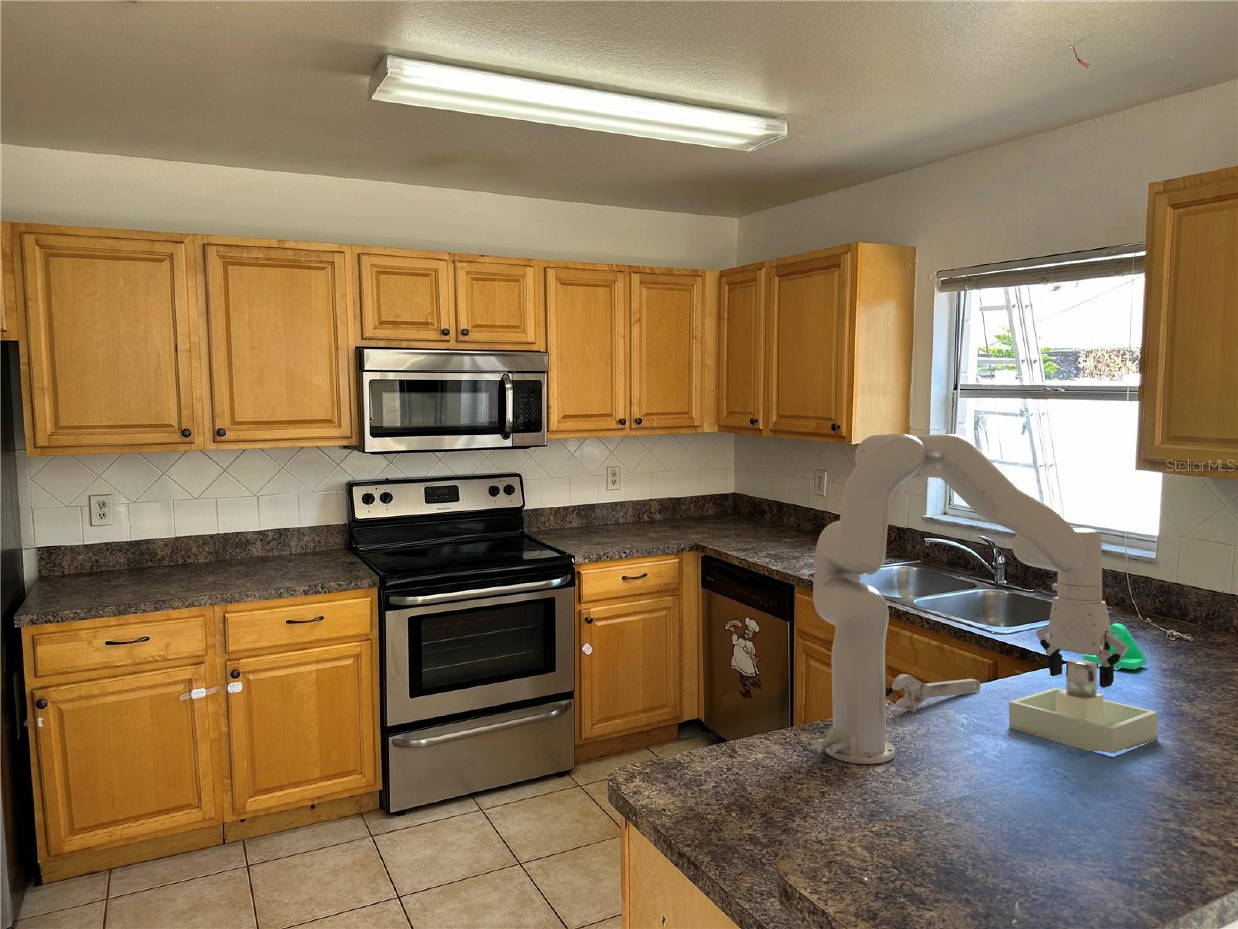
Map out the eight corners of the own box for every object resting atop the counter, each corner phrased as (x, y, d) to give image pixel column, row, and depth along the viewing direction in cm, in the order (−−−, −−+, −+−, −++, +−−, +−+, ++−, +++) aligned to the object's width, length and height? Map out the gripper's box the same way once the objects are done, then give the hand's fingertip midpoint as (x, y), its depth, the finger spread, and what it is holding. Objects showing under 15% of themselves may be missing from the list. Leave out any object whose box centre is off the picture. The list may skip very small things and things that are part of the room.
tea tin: (1087, 699, 160) (1087, 667, 160) (1060, 692, 165) (1060, 661, 165) (1102, 695, 163) (1102, 664, 163) (1075, 688, 167) (1075, 658, 167)
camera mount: (1081, 665, 214) (1081, 624, 214) (1093, 659, 219) (1093, 620, 219) (1134, 674, 205) (1133, 631, 205) (1145, 668, 210) (1145, 627, 209)
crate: (1112, 758, 151) (1112, 728, 151) (1009, 728, 168) (1008, 701, 168) (1157, 739, 160) (1157, 712, 160) (1055, 713, 177) (1054, 687, 177)
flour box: (1086, 737, 160) (1086, 700, 160) (1055, 728, 165) (1055, 692, 165) (1103, 730, 163) (1103, 694, 163) (1072, 722, 168) (1072, 687, 168)
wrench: (979, 704, 193) (897, 715, 176) (972, 702, 195) (889, 713, 178) (981, 669, 193) (899, 676, 176) (974, 667, 195) (892, 674, 178)
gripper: (1026, 588, 169) (1027, 674, 169) (1115, 601, 154) (1116, 694, 154) (1047, 584, 173) (1048, 668, 173) (1136, 596, 158) (1137, 687, 158)
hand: (1080, 680), depth 164 cm, fingers open, 9 cm apart
